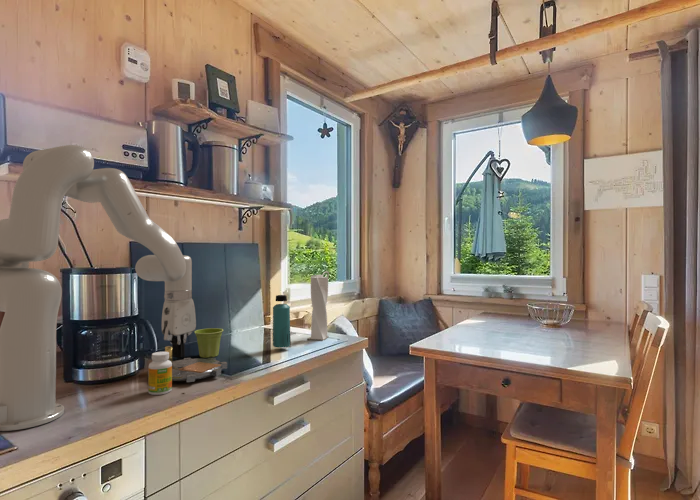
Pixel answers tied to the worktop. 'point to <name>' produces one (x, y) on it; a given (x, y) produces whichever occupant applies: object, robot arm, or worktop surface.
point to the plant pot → (208, 341)
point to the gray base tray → (194, 368)
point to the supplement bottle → (160, 374)
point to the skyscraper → (319, 307)
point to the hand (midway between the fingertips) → (178, 356)
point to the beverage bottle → (281, 323)
